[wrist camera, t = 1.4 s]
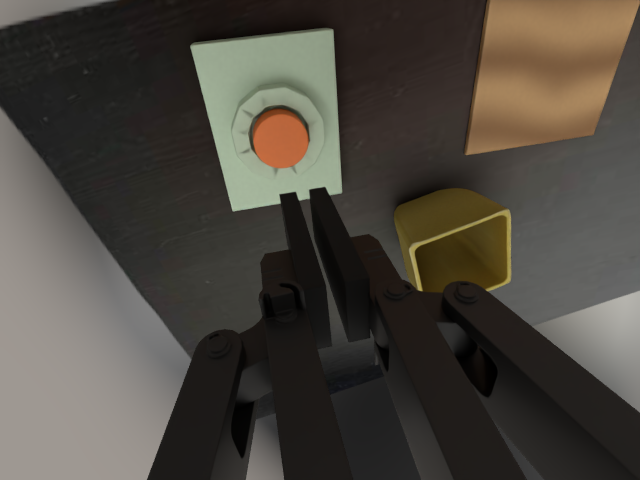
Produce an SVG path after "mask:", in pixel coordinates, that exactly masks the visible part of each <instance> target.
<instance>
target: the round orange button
mask: <svg viewBox="0 0 640 480" xmlns="http://www.w3.org/2000/svg"><path fill="white" fill-rule="evenodd" d="M253 143H254V148H255V151H256V154H257V155H258V157H259V158H260V159H261V160H262V161H263V162H264V163H265V164H267V165H269V166H271V167H274V168H288V167H291V166H293V165H295V164H297V163H298V162H299V161H300V160H301V159H302V158H303V157H304V155H305V154H306V151H307V149H308V143H309V139H308V134H307V131H306V129H305V127H304V125H303V123H302V121H301V120H300V119H299V117H298V116H297V115H296V114H294V113H293V112H291V111H289V110H286V109H272V110H269V111H267V112H265V113H264V114H262V115H261V116H260V117H259V118H258V119H257V121H256V123H255V125H254V128H253Z"/></svg>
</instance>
